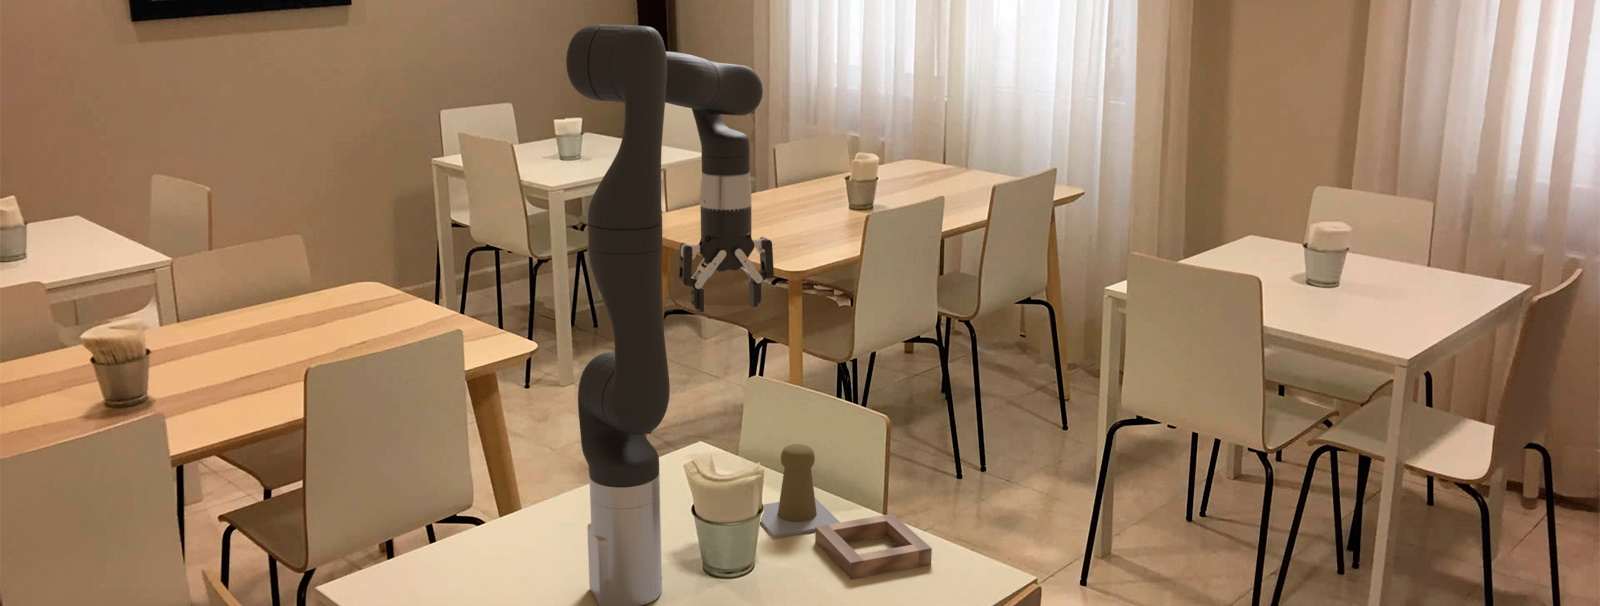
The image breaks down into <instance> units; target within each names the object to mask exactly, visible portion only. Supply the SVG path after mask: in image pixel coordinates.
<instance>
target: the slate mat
mask: <svg viewBox="0 0 1600 606" xmlns="http://www.w3.org/2000/svg"><path fill="white" fill-rule="evenodd" d="M779 502H780V501H776V502H770V503H764V504H762V505H764V513H763V515H762V518H761V523H760V525H762V526H763V528H764V529H765V530H766V531H767V533H769V534H770V536H772V538H773V539H779V538H784V537H785V538H786V537H790V536H791V537H792V536H797V535H801V534H802V535H803V534H808V533H813V532H814V533H815V527H816V526H822V525H828V524H834V523H840V522H841V521H840V520H838V518H837V517H836V516H835V515H834V514H832V513H831V512H830V510H828V508H826V507H825V506H824V505H823V504H822V503H821V502H820V501H819V500H818V499H817V498H816V497H815V503H816V511H817V515H816V517H815V518H813V519H811V520H809V521H804V522H791V521H786V520H784V519H782V518H780V517H779V516H778V509H779Z"/></svg>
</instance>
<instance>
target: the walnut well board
mask: <svg viewBox="0 0 1600 606" xmlns="http://www.w3.org/2000/svg"><path fill="white" fill-rule="evenodd" d="M839 522H840V523H834V524H828V525H822V526H816V527H815V532H814V533H815V535H814V537H815V538H814V541H815V544H816V545H817V546H818V547H819V548H820V549H821V550H822V551H823V552H824V553H825V554H826V555H827V557H829V558H830V559H831V561H832V562H833V563H835V565H836V566H837V567H838V568H840V570H841V571H842V572H843V573H844V574H845V576H847V577H848V578H849V580H853V579H854V580H855V579H860V578H865V577H870V576H875V575H881V574H886V573H891V572H898V571H901V570H902V571H903V570H907V569H913V568H918V567H924V566H928V565H932V551H933V549H932V547H931V546H930V545H929V544H928V543H927V542H925V540H923V539H922V538H921V537H920V536H919V535H918V534H916V533H915V532H914V531H913V529H911V528H910V527H909V526H907V525H906V524H905V523H904V522H903V521H901V520H900V518H898V517H897V516H896V515H895V514H894V513H888V514H882V515H877V516H870V517H864V518H858V519H852V520H847V521H846V520H845V521H839ZM884 537H886V538H887V539H888V540H889V541H890V542H892V543H893V544H894V546H896V547H893V548H887V549H882V550H876V551H870V552H864V553H863V552H862V553H857V552H856V551H855V549H853V548H852V547H851V546H850V545H849V544H850V543H856V542H861V541H866V540H867V541H869V540H872V539H878V538H884Z"/></svg>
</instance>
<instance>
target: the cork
mask: <svg viewBox="0 0 1600 606" xmlns="http://www.w3.org/2000/svg"><path fill="white" fill-rule="evenodd" d="M815 459H816V455H815V452H814V449H813V448H812V447H810V446H809V445H807V444H803V443H793V444H789V445H786V446H784V447H783V449H782V451H781V453H780V463H781V465H782V466H783V469H784V471H783V476H782V482H781V489H780V495H779V501H778V502H779V509H778V516H779V517H780V518H782V519H784V520H786V521H791V522H804V521H809V520H811V519H813V518H815V517H816V515H817V511H816V503H815V498H816V497H815V489H814V481H813V480H814V479H813V472H812V468H813V466H814V464H815Z"/></svg>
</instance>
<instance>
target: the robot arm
mask: <svg viewBox="0 0 1600 606" xmlns="http://www.w3.org/2000/svg"><path fill="white" fill-rule="evenodd" d="M665 46H666V45H665V43H664V40H663V37H662V35H661V34H660V33H659V31H658V30H656V28H654V27H651V26H647V25H634V24H633V25H630V24H629V25H628V24H608V23H607V24H603V23H602V24H600V23H599V24H593V25H588V26H587V25H586V26H585V27H583V28H581V29H579V30H578V31H576V33H575V34H574V35H573V36H572V37H571V39H570V41H569V44H568V48H567V50H566V56H565V57H566V58H565V59H566V60H565V62H566V72H567V76H568V77H567V78H568V79H569V81H570V84H571V85H572V87H573V88H574V89H575V91H576V92H578V93H579V94H580V95H581V96H584V97H585V98H588V99H589V100H595V101H600V102H617V103H618V102H619V103H624V122H623V124H624V125H623V133H622V139H621V143H620V144H619V145H620V146H619V148H618V151H617V153H616V155H615V156H614V159H613V160H612V162H611V164H610V166H609V168H608V169H607V171H606V172H605V174H604V176H603V177H602V179H601V181H600V183H598V184H599V185H598V186H597V188H596V190H595V191H594V193H593V196H592V197H591V200H590V203H589V206H588V210H587V211H588V212H587V231H588V232H587V234H588V235H587V238H588V239H587V240H588V242H587V243H588V258H589V259H588V260H589V263H590V268H591V272H592V275H593V278H594V280H595V283H596V287H597V289H598V291H599V294H600V296H601V298H602V301H603V305H604V306H605V308H606V311H607V313H608V317H609V320H610V324H611V328H612V333H613V343H614V352H611V351H609V352H604V353H600V354H599V355H596V356H595V357H593V358H592V359H591V360H590V361H589V362H588V363H587V365H586V366H585V367H584V369H583V372H582V373H581V375H580V378H579V379H580V380H579V384H578V391H577V410H578V422H579V433H580V444H581V450H582V455H583V457H584V459H585V461H586V463H587V465H588V476H589V497H590V499H589V500H590V502H589V504H590V523H588V524H587V526H586V527H587V548H588V549H587V550H588V551H587V553H588V554H587V555H588V575H589V577H588V578H589V581H588V582H589V589H590V591H591V593H592V595H593V596H594V599H595V601H596V603H597V605H598V606H644V605H648V604H650V603H652V602H654V601H655V600H657V599H658V598H659V597H660V596H661V594H662V590H663V573H662V571H663V569H662V530H661V529H662V527H661V526H662V525H661V524H662V523H661V520H662V519H661V486H660V485H661V479H660V474H661V473H660V457H659V456H660V455H659V453H658V451H657V450H656V448H655V447H654V445H652V444H651V441H649V439H648V438H647V437H646V435H647V434H650V433H651V432H653V431H654V430H655V429H656V428H657V427H658V426H659V425H660V424H661V423H662V421H663V419H664V417H665V416H666V413H667V411H668V407H669V403H670V393H671V392H670V389H671V388H670V374H669V373H670V372H669V366H668V357H667V349H666V341H665V339H666V337H665V330H664V329H665V328H664V313H663V312H664V308H663V307H664V306H663V305H664V304H663V303H664V301H663V276H662V275H663V269H662V268H663V265H662V264H663V210H662V148H663V147H662V145H663V134H664V133H663V132H664V121H665V107H666V103H667V104H670V105H674V106H678V107H681V108H688V109H691V110H692V114H693V118H694V121H695V125H696V130H697V133H698V137H699V140H700V145H701V146H700V147H701V181H700V189H699V191H700V194H699V204H700V240H699V243H698V244H688V243H686V242H682V243H681V244H680V245H679V256H678V259H679V260H678V281H679V282H680V283H681V284H683V285H684V286H686V287H687V286H689V287H690V290H691V291H690V293H691V294H690V298H691V299H690V301H691V303H690V304H691V306H692V308H693V309H694V310H695V311H696V312H697V313H699V314H700V313H704V312H705V291H704V288H703V286H704V285H705V283H706V282H707V280H708V279H709V278H711V277H712V276H713V274H714V272H715V271H717V272H719V273H720V272H725V271H728V270H729V271H739V270H740V269H742V270H743V271H744V272H745V274H746V275H747V276H748V277H749V279H750V280H748V305H749V307H751V308H758V306H759V304H761V302H762V283H763V281H766V280H767V279H772V278H774V275H775V272H774V271H775V270H774V253H773V250H774V249H773V242H772V240H771V239H770V238H768V237H765V236H761V237H760V238H759V239H758V238H757V239H753V238H752V182H751V172H750V166H751V165H750V164H751V162H750V161H751V160H750V158H751V157H750V153H751V152H750V139H749V138H748V135H747V134H746V133H743V132H741V131H739V130H735V129H733V128H730V127H728V126H727V125H726V124H725V123H724V120H723V118H722V115H723V116H724V115H725V116H726V115H727V116H739V117H740V116H747V115H749V114H752V113H753V112H754V111H756V109H758V107H759V105H760V104H761V102H762V99H763V93H764V92H763V91H764V90H763V89H764V88H763V83H762V81H761V78H760V76H759V75H758V73H757V72H756V71H755V70H754V69H752V68H751V67H749V66H747V65H742V64H735V63H724V62H715V61H711V60H708V59H707V58H703V57H699V56H696V55H692V54H688V53H683V52H676V51H667V50H666V47H665ZM754 249H756V252H757V253H759V264H760V269H759V270H757V268H756V266H755V265H754V264H753V263H752V262H751V260H750V258H749V257H750V255H751V254H752V252H753V250H754ZM697 253H699V254H700V255H701V257H702V260H701V261H700V263H699V264H698V265H697V268H696V271H695V273H694V274H693V275H692V269H693V268H692V267H693V260H694V259H695V258H696V256H697Z"/></svg>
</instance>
